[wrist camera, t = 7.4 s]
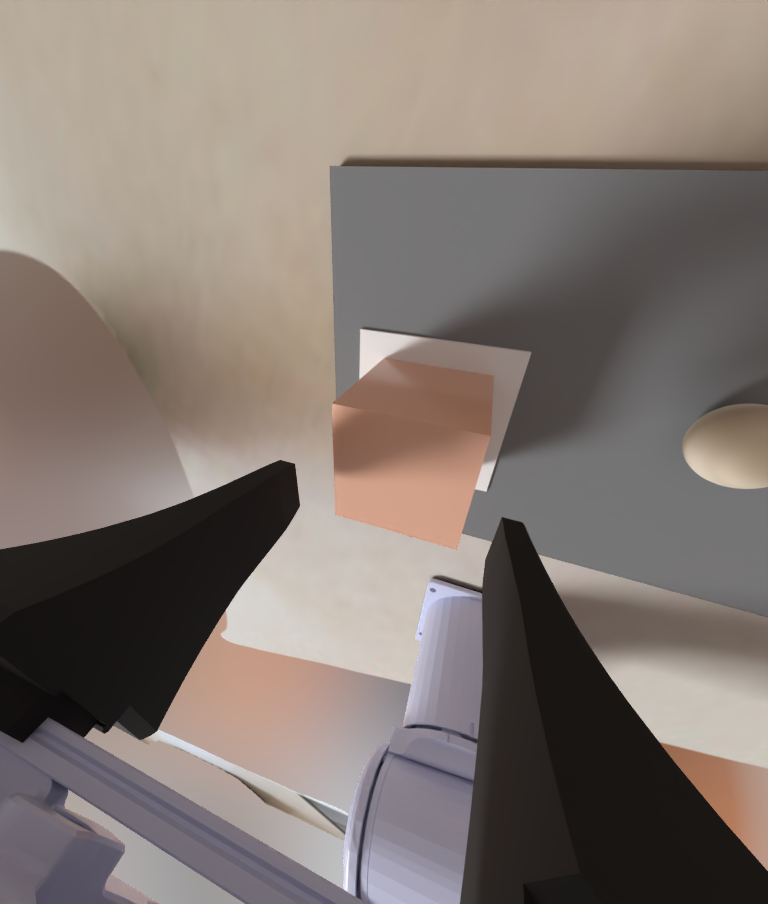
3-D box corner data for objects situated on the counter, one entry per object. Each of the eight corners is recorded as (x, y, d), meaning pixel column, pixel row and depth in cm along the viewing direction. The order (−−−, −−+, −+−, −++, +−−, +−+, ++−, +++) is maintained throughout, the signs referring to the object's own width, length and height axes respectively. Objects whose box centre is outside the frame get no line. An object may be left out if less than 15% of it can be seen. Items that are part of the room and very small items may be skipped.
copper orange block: (468, 468, 17) (456, 549, 12) (378, 447, 18) (335, 514, 14) (493, 375, 14) (490, 436, 9) (384, 358, 15) (331, 403, 11)
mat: (795, 616, 17) (808, 631, 16) (342, 494, 23) (337, 501, 22) (1454, 184, 7) (1554, 176, 6) (336, 169, 13) (327, 165, 12)
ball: (736, 466, 13) (792, 516, 11) (652, 450, 14) (686, 494, 11) (795, 398, 12) (880, 439, 9) (696, 384, 12) (748, 418, 10)
